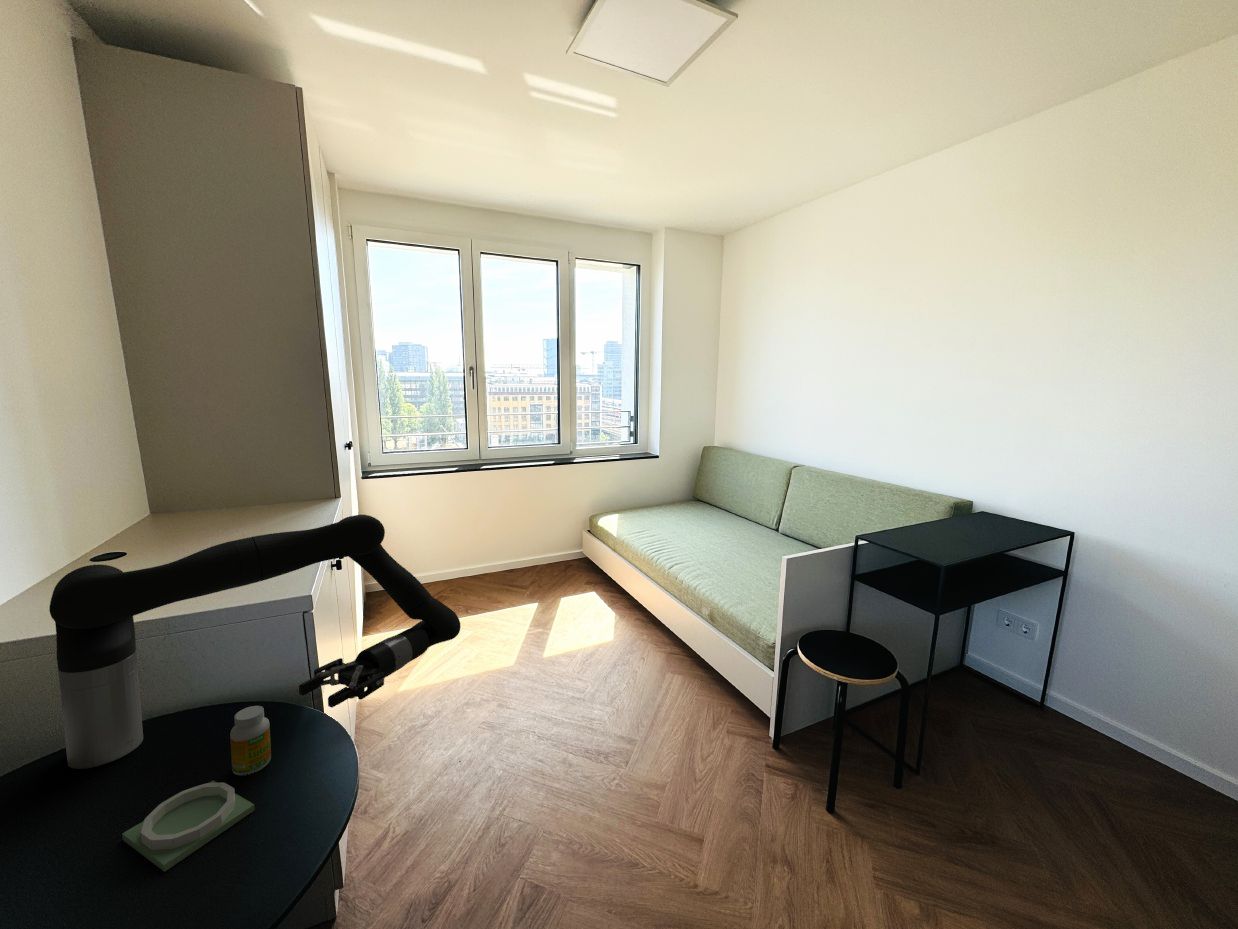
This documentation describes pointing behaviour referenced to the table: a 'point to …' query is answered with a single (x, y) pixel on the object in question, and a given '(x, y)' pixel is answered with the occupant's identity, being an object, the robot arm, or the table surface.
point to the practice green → (187, 823)
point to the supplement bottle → (250, 741)
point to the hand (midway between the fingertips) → (314, 696)
